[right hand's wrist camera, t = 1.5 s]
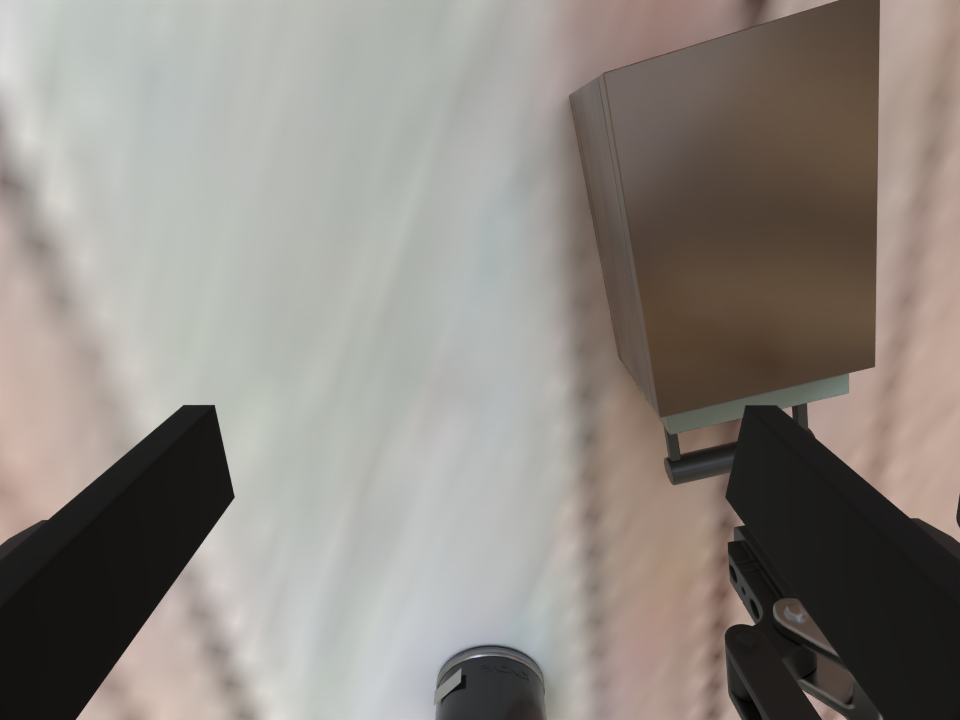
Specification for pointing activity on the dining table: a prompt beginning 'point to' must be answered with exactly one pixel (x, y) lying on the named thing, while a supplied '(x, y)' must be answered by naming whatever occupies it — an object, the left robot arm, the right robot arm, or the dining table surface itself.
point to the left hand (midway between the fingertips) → (854, 522)
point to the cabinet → (740, 206)
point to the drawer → (722, 456)
